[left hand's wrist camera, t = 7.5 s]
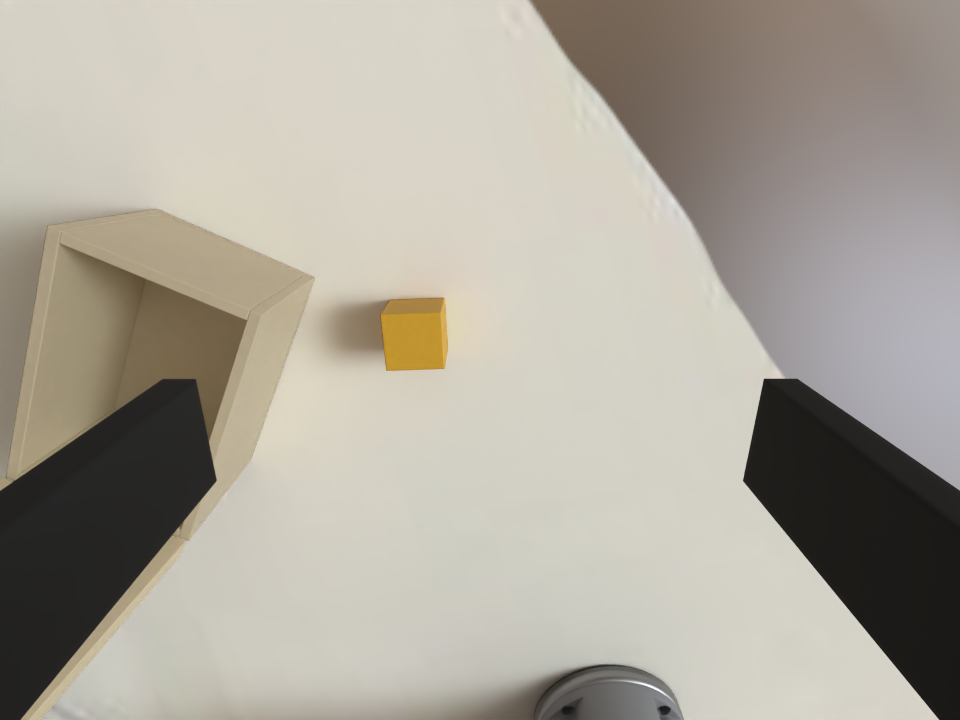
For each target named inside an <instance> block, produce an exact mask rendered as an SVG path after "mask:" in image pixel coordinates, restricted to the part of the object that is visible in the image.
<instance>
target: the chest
mask: <svg viewBox="0 0 960 720" xmlns="http://www.w3.org/2000/svg"><path fill="white" fill-rule="evenodd" d="M314 279H315V277H313V276H310V275H308V274H306V273H303V272H301V271H299V270H296V269H294V268H292V267H290V266H287V265H285V264H283V263H280V262H278V261H276V260H273V259H271V258H269V257H266V256H264V255H262V254H260V253H257V252H255V251H253V250H250V249H248V248H246V247H243V246H241V245H239V244H237V243H234V242H232V241H230V240H227V239H225V238H223V237H220V236H218V235H216V234H213V233H211V232H209V231H207V230H204V229H202V228H200V227H197V226H195V225H193V224H190V223H188V222H186V221H184V220H181V219H179V218H177V217H174V216H172V215H170V214H167V213H165V212H163V211H160V210H158V209H154V210H147V211H141V212H134V213H127V214H121V215H114V216H108V217H101V218H94V219H88V220H81V221H75V222H68V223H62V224H55V225H48V226H47V231H46V237H45V243H44V249H43V255H42V261H41V268H40V274H39V280H38V286H37V292H36V298H35V304H34V310H33V316H32V322H31V328H30V334H29V340H28V346H27V352H26V358H25V364H24V370H23V376H22V382H21V388H20V394H19V400H18V406H17V412H16V418H15V424H14V430H13V436H12V442H11V449H10V455H9V461H8V467H7V473H6V479H9V480H12V481H15V480H16V479H18V478H19V477H21V476H22V475H24V474H25V473H27V472H28V471H30V470H31V469H32V468H34V467H35V466H37V465H38V464H40V463H41V462H43V461H44V460H46V459H47V458H48V457H50V456H51V455H53V454H54V453H56V452H57V451H59V450H60V449H62V448H63V447H64V446H66V445H67V444H69V443H70V442H72V441H73V440H75V439H76V438H78V437H79V436H80V435H82V434H83V433H85V432H86V431H88V430H89V429H91V428H92V427H94V426H95V425H96V424H98V423H99V422H101V421H102V420H104V419H105V418H107V417H108V416H110V415H111V414H112V413H114V412H115V411H117V410H118V409H120V408H121V407H123V406H124V405H126V404H127V403H128V402H130V401H131V400H133V399H134V398H136V397H137V396H139V395H140V394H141V393H143V392H144V391H146V390H147V389H149V388H150V387H152V386H153V385H155V384H156V383H157V382H159V381H160V380H162V379H196V381H197V386H198V391H199V396H200V401H201V406H202V411H203V415H204V420H205V425H206V430H207V435H208V440H209V445H210V450H211V454H212V459H213V464H214V469H215V474H216V479H217V481H216V483H215V484H214V485H213V486H212V487H211V489H210V490H209V491H208V492H207V494H206V495H205V496H204V497H203V498H202V500H201V501H200V502H199V503H198V504H197V506H196V507H195V508H194V509H193V511H192V512H191V513H190V514H189V515H188V517H187V518H186V519H185V520H184V522H183V523H182V524H181V525H180V526H179V528H178V529H177V530H176V531H175V532H174V534H173V535H172V536H175V537H179V538H181V539H184V540H187V541H189V540H190V539H191V538H192V536H193V535H194V534H195V532H196V531H197V530H198V529H199V527H200V526H201V525H202V523H203V522H204V521H205V519H206V518H207V517H208V515H209V514H210V513H211V512H212V510H213V509H214V508H215V506H216V505H217V504H218V502H219V501H220V500H221V498H222V497H223V496H224V495H225V493H226V492H227V491H228V489H229V488H230V487H231V485H232V484H233V483H234V481H235V480H236V479H237V478H238V476H239V475H240V474H241V472H242V471H243V470H244V468H245V467H246V466H247V464H248V463H249V462H250V461H251V458H252V455H253V452H254V449H255V446H256V444H257V441H258V438H259V435H260V432H261V429H262V427H263V424H264V421H265V418H266V415H267V412H268V410H269V407H270V404H271V401H272V398H273V395H274V393H275V390H276V387H277V384H278V381H279V378H280V376H281V373H282V370H283V367H284V364H285V361H286V359H287V356H288V353H289V350H290V347H291V344H292V342H293V339H294V336H295V333H296V330H297V327H298V325H299V322H300V319H301V316H302V313H303V310H304V308H305V305H306V302H307V299H308V296H309V293H310V291H311V288H312V285H313V282H314Z"/></svg>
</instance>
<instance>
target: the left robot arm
mask: <svg viewBox="0 0 960 720" xmlns="http://www.w3.org/2000/svg"><path fill="white" fill-rule="evenodd" d="M216 481H217V479H216V474H215V469H214V464H213V459H212V454H211V450H210V445H209V440H208V435H207V430H206V425H205V420H204V415H203V411H202V406H201V401H200V396H199V391H198V386H197V381H196V379H162V380H160V381H159V382H157V383H156V384H155V385H153V386H152V387H150V388H149V389H147V390H146V391H144V392H143V393H141V394H140V395H139V396H137V397H136V398H134V399H133V400H131V401H130V402H128V403H127V404H126V405H124V406H123V407H121V408H120V409H118V410H117V411H115V412H114V413H112V414H111V415H110V416H108V417H107V418H105V419H104V420H102V421H101V422H99V423H98V424H96V425H95V426H94V427H92V428H91V429H89V430H88V431H86V432H85V433H83V434H82V435H80V436H79V437H78V438H76V439H75V440H73V441H72V442H70V443H69V444H67V445H66V446H64V447H63V448H62V449H60V450H59V451H57V452H56V453H54V454H53V455H51V456H50V457H48V458H47V459H46V460H44V461H43V462H41V463H40V464H38V465H37V466H35V467H34V468H32V469H31V470H30V471H28V472H27V473H25V474H24V475H22V476H21V477H19V478H18V479H16V480H15V481H14V482H12V483H11V484H9V485H8V486H6V487H5V488H3V489H2V490H1V491H0V720H21V719H22V718H23V716H24V715H25V714H26V713H27V711H28V710H29V709H30V708H31V707H32V705H33V704H34V703H35V702H36V700H37V699H38V698H39V697H40V696H41V694H42V693H43V692H44V691H45V690H46V688H47V687H48V686H49V685H50V683H51V682H52V681H53V680H54V679H55V677H56V676H57V675H58V674H59V672H60V671H61V670H62V669H63V668H64V666H65V665H66V664H67V663H68V662H69V660H70V659H71V658H72V657H73V655H74V654H75V653H76V652H77V651H78V649H79V648H80V647H81V646H82V644H83V643H84V642H85V641H86V640H87V638H88V637H89V636H90V635H91V634H92V632H93V631H94V630H95V629H96V627H97V626H98V625H99V624H100V623H101V621H102V620H103V619H104V618H105V616H106V615H107V614H108V613H109V612H110V610H111V609H112V608H113V607H114V606H115V604H116V603H117V602H118V601H119V599H120V598H121V597H122V596H123V595H124V593H125V592H126V591H127V590H128V588H129V587H130V586H131V585H132V584H133V582H134V581H135V580H136V579H137V578H138V576H139V575H140V574H141V573H142V571H143V570H144V569H145V568H146V567H147V565H148V564H149V563H150V562H151V560H152V559H153V558H154V557H155V556H156V554H157V553H158V552H159V551H160V550H161V548H162V547H163V546H164V545H165V543H166V542H167V541H168V540H169V539H170V537H171V536H172V535H173V534H174V532H175V531H176V530H177V529H178V528H179V526H180V525H181V524H182V523H183V522H184V520H185V519H186V518H187V517H188V515H189V514H190V513H191V512H192V511H193V509H194V508H195V507H196V506H197V504H198V503H199V502H200V501H201V500H202V498H203V497H204V496H205V495H206V494H207V492H208V491H209V490H210V489H211V487H212V486H213V485H214V484H215V483H216ZM743 481H744V483H745V484H746V485H747V486H748V487H749V489H750V490H751V491H752V492H753V494H754V495H755V496H756V497H757V498H758V500H759V501H760V502H761V503H762V504H763V506H764V507H765V508H766V509H767V511H768V512H769V513H770V514H771V515H772V517H773V518H774V519H775V520H776V522H777V523H778V524H779V525H780V526H781V528H782V529H783V530H784V531H785V532H786V534H787V535H788V536H789V537H790V539H791V540H792V541H793V542H794V543H795V545H796V546H797V547H798V548H799V550H800V551H801V552H802V553H803V554H804V556H805V557H806V558H807V559H808V560H809V562H810V563H811V564H812V565H813V567H814V568H815V569H816V570H817V571H818V573H819V574H820V575H821V576H822V578H823V579H824V580H825V581H826V582H827V584H828V585H829V586H830V587H831V588H832V590H833V591H834V592H835V593H836V595H837V596H838V597H839V598H840V599H841V601H842V602H843V603H844V604H845V606H846V607H847V608H848V609H849V610H850V612H851V613H852V614H853V615H854V616H855V618H856V619H857V620H858V621H859V623H860V624H861V625H862V626H863V627H864V629H865V630H866V631H867V632H868V634H869V635H870V636H871V637H872V638H873V640H874V641H875V642H876V643H877V644H878V646H879V647H880V648H881V649H882V651H883V652H884V653H885V654H886V655H887V657H888V658H889V659H890V660H891V662H892V663H893V664H894V665H895V666H896V668H897V669H898V670H899V671H900V672H901V674H902V675H903V676H904V677H905V679H906V680H907V681H908V682H909V683H910V685H911V686H912V687H913V688H914V690H915V691H916V692H917V693H918V694H919V696H920V697H921V698H922V699H923V700H924V702H925V703H926V704H927V705H928V707H929V708H930V709H931V710H932V711H933V713H934V714H935V715H936V716H937V718H938V719H939V720H960V491H959V490H958V489H957V488H955V487H954V486H952V485H951V484H949V483H948V482H946V481H945V480H943V479H942V478H941V477H939V476H938V475H936V474H935V473H933V472H932V471H930V470H929V469H927V468H926V467H925V466H923V465H922V464H920V463H919V462H917V461H916V460H914V459H913V458H911V457H910V456H909V455H907V454H906V453H904V452H903V451H901V450H900V449H898V448H897V447H895V446H894V445H893V444H891V443H890V442H888V441H887V440H885V439H884V438H882V437H881V436H880V435H878V434H877V433H875V432H874V431H872V430H871V429H869V428H868V427H866V426H865V425H864V424H862V423H861V422H859V421H858V420H856V419H855V418H853V417H852V416H850V415H849V414H848V413H846V412H845V411H843V410H842V409H840V408H839V407H837V406H836V405H834V404H833V403H832V402H830V401H829V400H827V399H826V398H824V397H823V396H821V395H820V394H819V393H817V392H816V391H814V390H813V389H811V388H810V387H808V386H807V385H805V384H804V383H803V382H801V381H800V380H798V379H764V381H763V386H762V391H761V396H760V401H759V406H758V411H757V415H756V420H755V425H754V430H753V435H752V440H751V445H750V450H749V454H748V459H747V464H746V469H745V474H744V479H743ZM534 720H684V719H683V716H682V713H681V710H680V707H679V705H678V702H677V699H676V697H675V695H674V693H673V692H672V690H671V689H670V688H669V687H668V686H667V685H666V684H665V683H664V682H663V681H661V680H660V679H659V678H657V677H655V676H653V675H651V674H649V673H647V672H644V671H642V670H638V669H634V668H629V667H621V666H604V667H596V668H590V669H586V670H583V671H580V672H577V673H574V674H572V675H569V676H568V677H566V678H564V679H562V680H560V681H559V682H557V683H556V684H555V685H553V686H552V687H551V688H550V689H549V690H548V691H547V692H546V693H545V694H544V695H543V697H542V698H541V700H540V701H539V703H538V705H537V708H536V711H535V715H534Z"/></svg>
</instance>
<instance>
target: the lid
mask: <svg viewBox="0 0 960 720" xmlns="http://www.w3.org/2000/svg"><path fill="white" fill-rule="evenodd" d="M12 482H13V481H10V480H7V479H4V478H1V477H0V491H1V490H2V489H3V488H5V487H6V486H8V485H9V484H11V483H12ZM185 543H186V541H184V540H182V539H179V538H176V537H173V536H171V537H170V539H169V540H168V541H167V542H166V543H165V545H164V546H163V547H162V548H161V550H160V551H159V552H158V553H157V554H156V556H155V557H154V558H153V559H152V560H151V562H150V563H149V564H148V565H147V567H146V568H145V569H144V570H143V571H142V573H141V574H140V575H139V576H138V578H137V579H136V580H135V581H134V582H133V584H132V585H131V586H130V587H129V588H128V590H127V591H126V592H125V593H124V595H123V596H122V597H121V598H120V599H119V601H118V602H117V603H116V604H115V606H114V607H113V608H112V609H111V610H110V612H109V613H108V614H107V615H106V616H105V618H104V619H103V620H102V621H101V623H100V624H99V625H98V626H97V627H96V629H95V630H94V631H93V632H92V634H91V635H90V636H89V637H88V638H87V640H86V641H85V642H84V643H83V644H82V646H81V647H80V648H79V649H78V651H77V652H76V653H75V654H74V655H73V657H72V658H71V659H70V660H69V662H68V663H67V664H66V665H65V666H64V668H63V669H62V670H61V671H60V672H59V674H58V675H57V676H56V677H55V679H54V680H53V681H52V682H51V683H50V685H49V686H48V687H47V688H46V690H45V691H44V692H43V693H42V694H41V696H40V697H39V698H38V699H37V700H36V702H35V703H34V704H33V705H32V707H31V708H30V709H29V710H28V711H27V713H26V714H25V715H24V716H23V718H22V719H21V720H41V719H42V718H43V717H44V716H45V715H46V713H47V712H48V711H49V710H50V709H51V707H52V706H53V705H54V704H55V703H56V702H57V700H58V699H59V698H60V697H61V696H62V695H63V693H64V692H65V691H66V690H67V689H68V687H69V686H70V685H71V684H72V683H73V682H74V680H75V679H76V678H77V677H78V676H79V675H80V673H81V672H82V671H83V670H84V669H85V668H86V666H87V665H88V664H89V663H90V662H91V660H92V659H93V658H94V657H95V656H96V655H97V653H98V652H99V651H100V650H101V649H102V648H103V646H104V645H105V644H106V643H107V642H108V640H109V639H110V638H111V637H112V636H113V635H114V633H115V632H116V631H117V630H118V629H119V628H120V626H121V625H122V624H123V623H124V622H125V620H126V619H127V618H128V617H129V616H130V615H131V613H132V612H133V611H134V610H135V609H136V608H137V606H138V605H139V604H140V603H141V602H142V600H143V599H144V598H145V597H146V596H147V595H148V593H149V592H150V591H151V590H152V589H153V588H154V586H155V585H156V584H157V583H158V582H159V580H160V579H161V578H162V577H163V576H164V575H165V573H166V572H167V571H168V570H169V569H170V568H171V566H172V565H173V564H174V563H175V562H176V560H177V559H178V558H179V557H180V556H181V553H182V551H183V548H184V545H185Z"/></svg>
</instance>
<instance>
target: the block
mask: <svg viewBox="0 0 960 720" xmlns="http://www.w3.org/2000/svg"><path fill="white" fill-rule="evenodd" d="M380 316H381V326H382V335H383V344H384V354H385V363H386V370H387V371H394V370H423V369H444V368H445V363H446V357H447V351H448V342H447V325H446V309H445V298H425V299H397V300H390V301H389V302H388V304H387V306H386V307H385V309H384V310H383V312H382V313H381V315H380Z"/></svg>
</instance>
